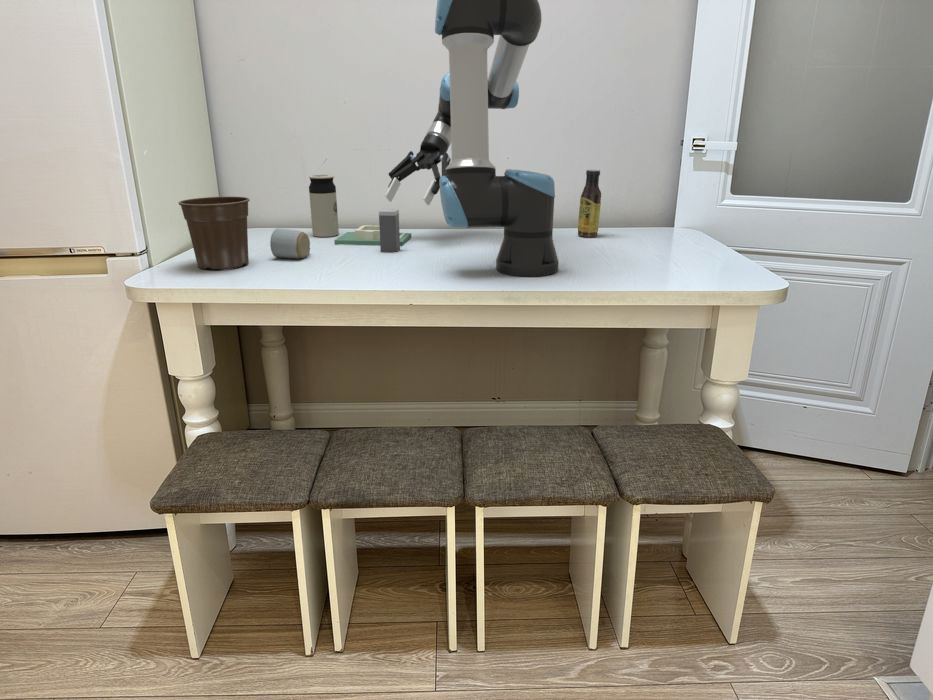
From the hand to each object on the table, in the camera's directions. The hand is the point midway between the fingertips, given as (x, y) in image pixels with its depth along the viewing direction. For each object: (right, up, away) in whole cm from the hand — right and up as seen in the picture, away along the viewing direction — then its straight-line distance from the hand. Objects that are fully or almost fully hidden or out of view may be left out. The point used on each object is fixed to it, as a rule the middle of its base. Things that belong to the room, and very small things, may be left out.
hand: (406, 200), depth 182 cm
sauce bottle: (+54, -7, +18) cm, 58 cm away
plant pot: (-44, -21, -19) cm, 53 cm away
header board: (-11, -9, +11) cm, 18 cm away
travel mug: (-27, -7, +19) cm, 34 cm away
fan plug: (-4, -15, -3) cm, 15 cm away
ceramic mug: (-29, -18, -10) cm, 35 cm away
